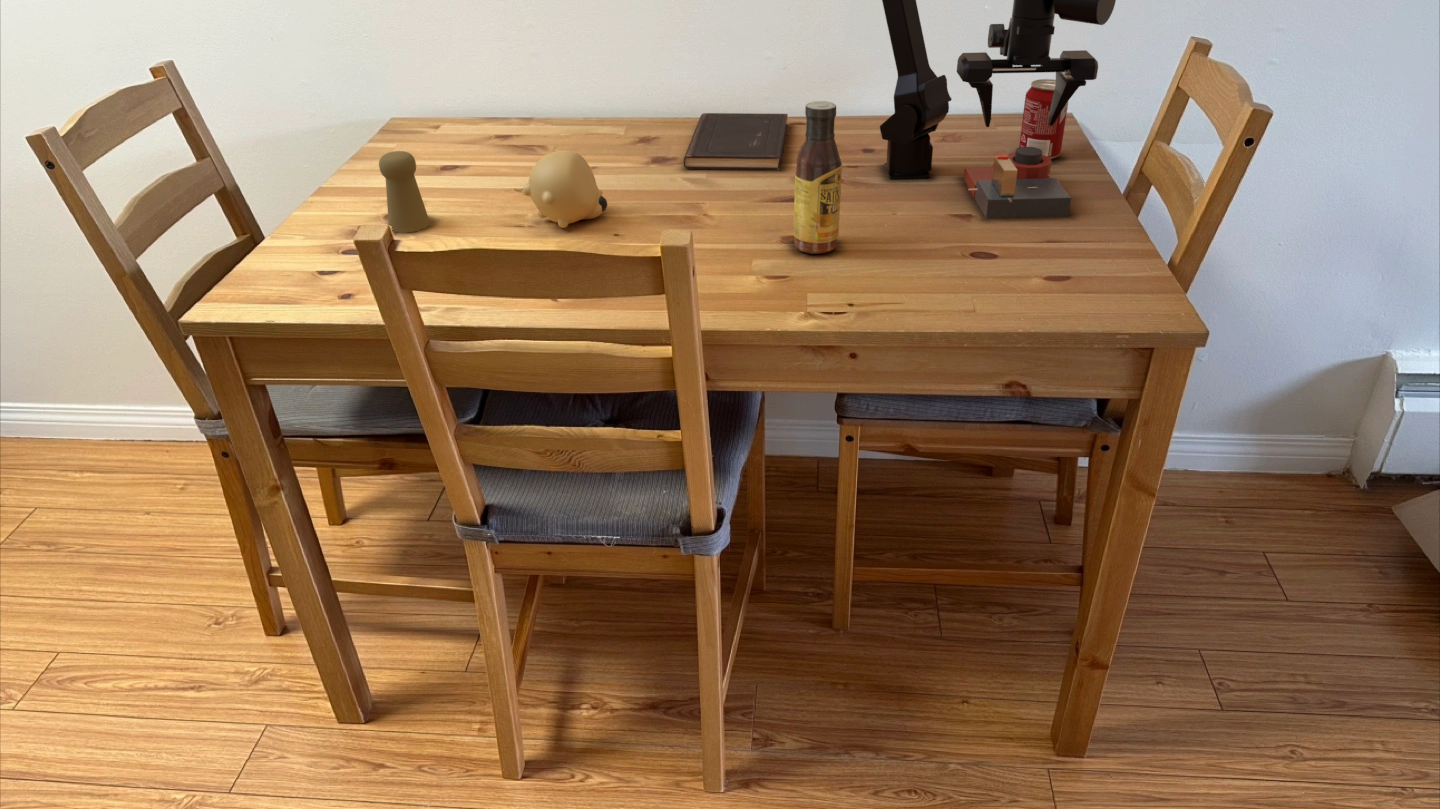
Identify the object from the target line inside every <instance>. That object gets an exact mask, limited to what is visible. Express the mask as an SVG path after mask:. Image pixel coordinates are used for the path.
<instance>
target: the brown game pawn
mask: <svg viewBox="0 0 1440 809" xmlns="http://www.w3.org/2000/svg"><path fill="white" fill-rule="evenodd" d="M378 168H379V172H380V173H381V174H380V175H381V176H383V178H385V193H386V205H387V207H386V208H387V222H388V226H389V225H390V226H392V229H393V231H392V232H393V233H399V234H408V233H415V232H418V231H422V230H424V229H426V228H427V227H428V226H430V224H431V222H430V219H429V218H430V217H429V216H428V212H427V210H426V206H425V203H424V201H423V197H422V194H421V191H420V188H419V185H418V182H417V179H416V176H415V173H416V171H417V162H416V159H415V157H414V156H413V154H412V153H410V152H408V151H405V150H396V151H389V152H386V153H384V154H383V155H381V157H380V158H379V161H378Z"/></svg>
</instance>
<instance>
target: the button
mask: <svg viewBox="0 0 1440 809" xmlns="http://www.w3.org/2000/svg"><path fill="white" fill-rule="evenodd" d="M1014 153H1015V159H1014V161H1015V162H1017V163H1019V164H1025V165H1036V164H1040V163H1041V159H1042V150H1041V149H1039V148H1035V147H1020V148H1019V147H1017V148H1016V149H1015V152H1014Z"/></svg>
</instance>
